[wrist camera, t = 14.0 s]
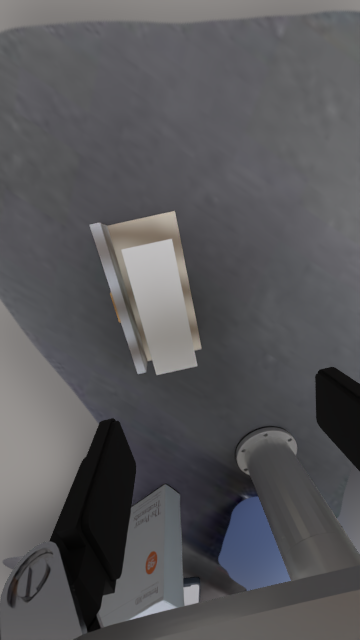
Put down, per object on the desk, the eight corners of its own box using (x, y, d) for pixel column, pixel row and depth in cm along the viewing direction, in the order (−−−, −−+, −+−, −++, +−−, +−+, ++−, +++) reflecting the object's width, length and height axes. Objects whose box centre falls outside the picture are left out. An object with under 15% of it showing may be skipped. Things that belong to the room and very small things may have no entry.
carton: (168, 243, 27) (171, 238, 18) (187, 331, 32) (197, 366, 22) (134, 250, 27) (118, 250, 18) (157, 338, 32) (154, 375, 22)
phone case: (199, 602, 62) (199, 574, 57) (199, 611, 61) (200, 583, 55) (169, 606, 61) (167, 578, 56) (169, 615, 60) (167, 587, 55)
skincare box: (163, 481, 44) (163, 601, 29) (180, 492, 45) (189, 613, 30) (95, 529, 47) (63, 660, 32) (113, 538, 48) (91, 668, 33)
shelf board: (200, 344, 34) (205, 358, 30) (138, 358, 34) (135, 374, 30) (174, 212, 28) (176, 205, 23) (98, 229, 28) (85, 225, 23)
